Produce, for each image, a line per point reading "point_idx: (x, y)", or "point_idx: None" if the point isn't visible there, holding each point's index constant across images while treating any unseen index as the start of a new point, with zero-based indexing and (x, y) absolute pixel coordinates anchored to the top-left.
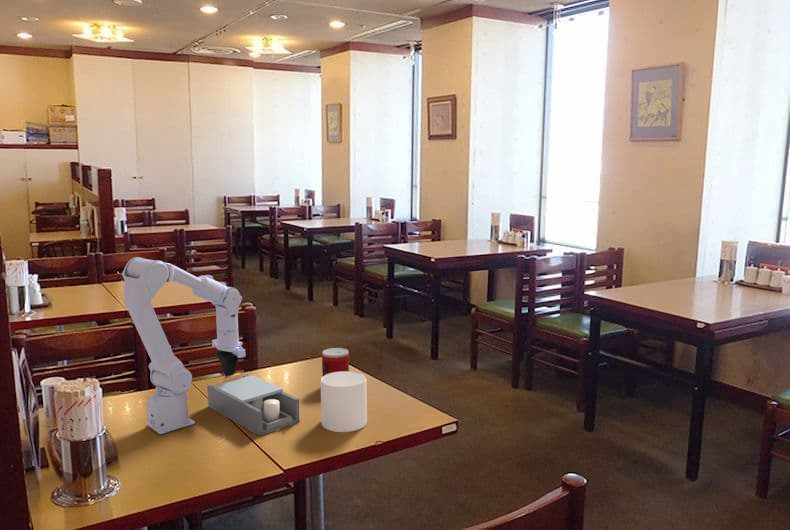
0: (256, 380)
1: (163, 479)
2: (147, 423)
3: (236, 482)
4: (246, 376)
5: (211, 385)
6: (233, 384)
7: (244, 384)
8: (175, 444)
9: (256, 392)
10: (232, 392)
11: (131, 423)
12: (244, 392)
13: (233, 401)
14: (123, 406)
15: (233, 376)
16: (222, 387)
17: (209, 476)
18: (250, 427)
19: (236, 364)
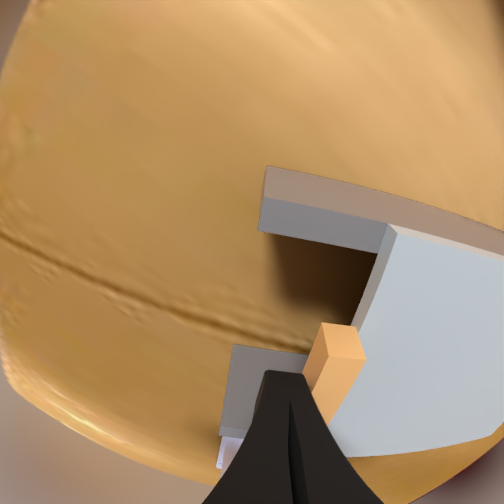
0: (483, 300)
1: (409, 485)
2: (217, 467)
3: (499, 438)
4: (316, 232)
5: (245, 434)
6: (382, 413)
7: (442, 380)
8: None
9: None
10: (429, 441)
11: (178, 463)
12: (476, 414)
13: None
14: (71, 418)
15: (336, 406)
16: (352, 449)
17: (464, 456)
18: None
19: (346, 459)
